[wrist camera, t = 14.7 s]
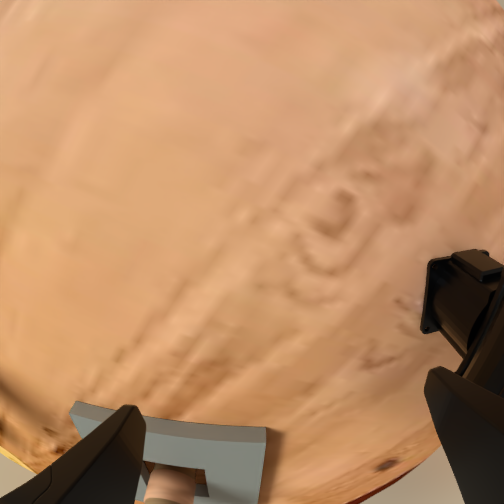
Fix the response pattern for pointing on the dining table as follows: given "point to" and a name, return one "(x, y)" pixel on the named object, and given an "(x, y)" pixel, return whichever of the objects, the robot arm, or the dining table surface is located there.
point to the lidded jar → (171, 485)
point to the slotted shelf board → (195, 453)
